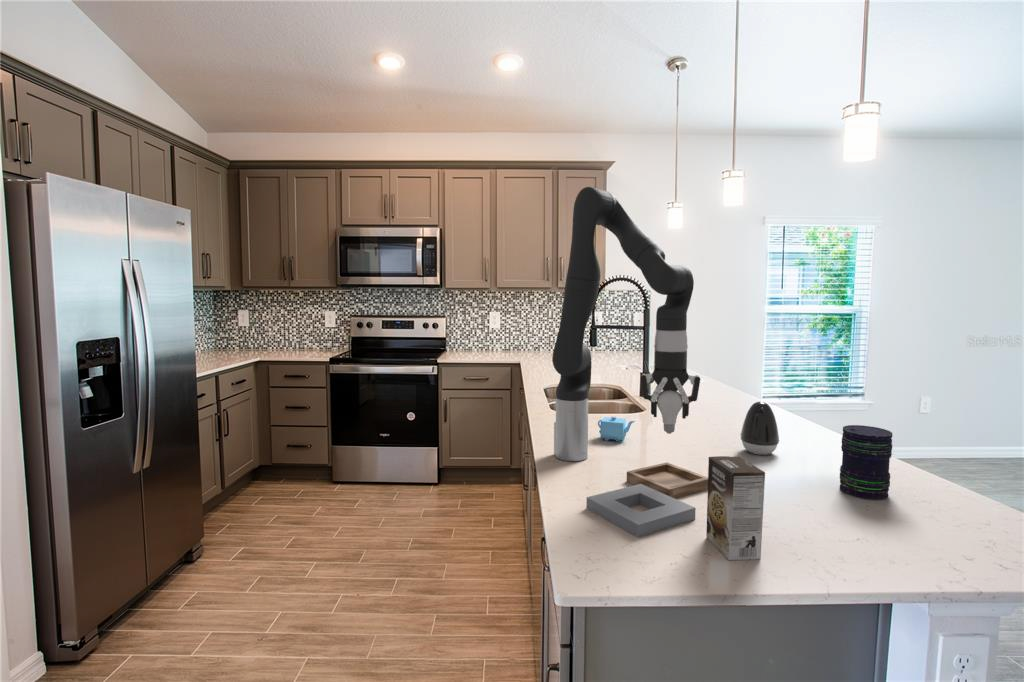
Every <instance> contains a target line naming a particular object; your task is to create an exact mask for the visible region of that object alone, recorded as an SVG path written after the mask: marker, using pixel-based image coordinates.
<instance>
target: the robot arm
mask: <svg viewBox="0 0 1024 682" xmlns="http://www.w3.org/2000/svg"><path fill="white" fill-rule="evenodd" d="M596 226H601V227H604V228H605V229H606V230H608V231H610V233H612V234H613V235H614V236H615V237H616V239H617V240H618V242H619V244H620V247H621V250H622V251H623V253H624V254H625V255H626V257H627V258H628V259H629V260H630V261H631V262H632V263H633V264H634V265H635V266H636V267H637V268H638V269H640V271H641V273H642V275H643V277H644V278H645V281H646V282H647V284H648V285H649V287H650V288H651V289H652V290H654V292H656V293H657V294H660V295H663V296H666V298H665V302H664V304H662V305H660V306H659V307H657V310H656V314H655V315H656V317H655V319H656V320H655V336H654V347H653V348H654V351H653V352H654V353H653V354H654V361H653V362H654V363H653V366H654V367H653V371H652V373H641V375H640V380H641V381H640V382H641V388H642V389H641V390H642V397H643V399H644V400H648V401H649V402H650V414H651V415H652V416H653V418H657V417H658V414H657V413H658V411H657V410H658V406H657V398H658V396H659V394H660V393H661V392H662V391H668V390H671V391H677V392H679V393H680V395H681V397H682V399H683V405H682V408H681V409H682V410H681V417H682V419H683V420H686V418H687V417H688V416H689V415H690V413H689V412H690V403H692V402H697V400H698V396H699V390H700V383H701V377H700V375H697V374H696V375H691V374H688V370H687V369H688V368H687V367H688V364H687V363H688V348H689V347H688V335H687V334H688V333H687V322H688V321H687V320H688V319H687V317H688V316H687V314H688V310H689V307H690V304H691V299H692V296H693V291H694V283H695V282H694V277H693V273H692V271H691V270H690V268H688V267H687V266H686V265H685V266H684V265H676V264H675V265H673V264H669V263H668V262H666V261H665V260H666V253H665V252H664V250H663V249H662V248H661V247H660V246H659V245H658V244H657V243H656V242H655V241H654V240H653V239H651V237H650V236H648V235H647V234H646V233H645V232H644V231H643V230H642V229H641V228H640V227H639V225H638V224H636V222H635V221H634V220H633V219H632V217H631V216H630V215H629V214H628V212H627V211H626V210H625V208H624V207H623V205H622V204H621V203H620V201H619V200H618V199H617V197H616V195H614V194H613V193H611V192H610V191H608V190H607V191H606V190H604V189H600V188H596V187H593V186H585V187H583V188H581V189H580V191H579V192H578V193H577V195H576V197H575V200H574V204H573V212H572V226H571V227H572V228H571V229H572V230H571V231H572V233H571V243H570V245H571V246H570V253H569V259H568V266H567V267H568V268H567V272H566V278H565V285H564V291H563V301H562V308H561V316H560V321H559V322H560V323H559V327H558V328H559V329H558V332H557V337H556V340H555V343H554V348H553V352H552V358H551V359H552V360H551V361H552V365H553V368H554V370H555V371H556V372H557V373H558V374H559V375H560V377H559V383H558V384H557V386H556V389H555V421H554V423H553V454H554V455H555V457H556V458H557V459H558V460H561V461H565V462H581V461H585V460H586V459H588V456H589V454H588V452H589V451H588V449H589V447H588V445H589V443H588V442H589V437H588V436H589V392H590V389H591V385H592V384H591V382H592V354H591V351H590V349H589V347H588V346H587V345H586V344H585V343H584V340H585V339H584V338H585V337H584V336H585V331H586V328H587V327H586V326H587V324H588V321H589V319H590V317H591V315H592V312H593V311H594V308H595V304H596V302H597V298H598V294H599V290H600V283H601V282H600V281H601V268H600V264H599V260H598V256H597V252H596V249H595V232H596ZM651 379H653V381H654V382H655V384H656V387H655V389H654V391H653V392H652V394H650V393H649V388H648V384H649V383H650V381H651ZM688 380H689V383H690V384H691V386H692V388H691V395H687V393H686V392H685V389H684V385H685V384H686V383H687V381H688Z"/></svg>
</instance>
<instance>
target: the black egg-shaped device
mask: <svg viewBox="0 0 1024 682" xmlns="http://www.w3.org/2000/svg"><path fill="white" fill-rule="evenodd" d="M740 440H741V443H742V445H743V448H744V449H745V450H746V451H747V452H749V453H751V454H753V455H757V456H758V455H759V456H767V455H770V454H772V453H774V451H776V449H777V447H778V444H779V443H780V435H779V428H778V424H777V421H776V417H775V413H774V411H773V409H772V408H771V406H770V405H769V404H768V403H766V402H765V401H756V402H754V403H752V404H751V405H750V407H749V409H748V411H747V412H746V414H745V418H744V420H743V424H742V428H741V432H740Z"/></svg>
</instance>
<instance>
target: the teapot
mask: <svg viewBox="0 0 1024 682" xmlns="http://www.w3.org/2000/svg"><path fill="white" fill-rule="evenodd" d="M634 422H636V420H630V421H629V422H628V423H627V418H619V417H616V416H615V415H613V416H610V417H607V416H606V417H605V416H604V417H603V418H602V419H599V420H598V421H597V426H598V428H599V431H598V432H599V435H600V439H603V440H609V441H610V440H616V441H619V440H620V441H624V439H625V438H626V436H627V433H628V432H629V431H630V428H631V426H632V424H633V423H634ZM616 441H615V442H616Z"/></svg>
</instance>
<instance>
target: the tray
mask: <svg viewBox="0 0 1024 682" xmlns="http://www.w3.org/2000/svg"><path fill="white" fill-rule="evenodd" d="M627 481H628V483H629V482H630V484H632V485H633V486H634V485H638V484H642V485H645V486H647V487H649V488H652V489H654V490H656V491H658V492H661V493H663V494H665V495H668V496H670V497H672V498H675V499H678V498H681V497H682V498H683V497H685V495H686V496H689V495H692V493H693V494H696V493H698V492H699V491H700V492H702V491H706V489H707V490H708V476H705V475H702V474H700V473H696V472H694V471H691V470H689V469H685V468H683V467H680V466H679V465H675V464H673V463H669V462H663V463H657V464H654V465H650V466H646V467H640V468H637V469H632V470H628V471H626V482H627ZM695 492H696V493H695ZM700 492H699V493H700ZM688 494H689V495H688Z"/></svg>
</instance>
